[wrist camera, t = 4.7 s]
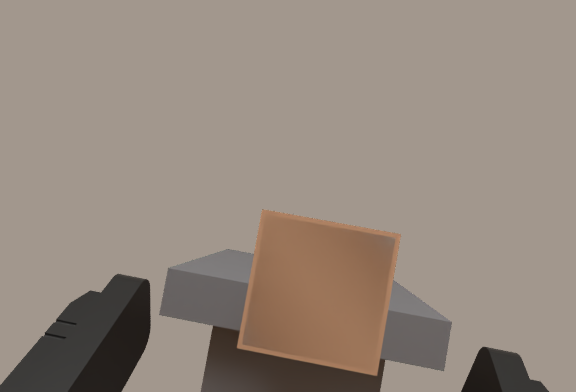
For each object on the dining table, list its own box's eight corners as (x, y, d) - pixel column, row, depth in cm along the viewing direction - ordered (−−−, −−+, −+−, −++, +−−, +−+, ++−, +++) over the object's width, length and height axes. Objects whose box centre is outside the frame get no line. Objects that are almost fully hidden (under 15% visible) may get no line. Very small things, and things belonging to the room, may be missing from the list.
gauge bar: (376, 375, 10) (401, 234, 11) (236, 348, 11) (262, 209, 11) (331, 268, 34) (339, 225, 35) (288, 260, 35) (296, 217, 35)
